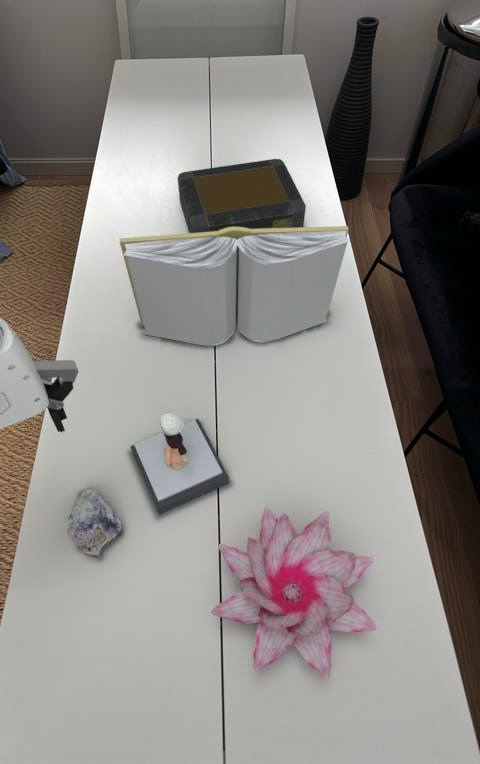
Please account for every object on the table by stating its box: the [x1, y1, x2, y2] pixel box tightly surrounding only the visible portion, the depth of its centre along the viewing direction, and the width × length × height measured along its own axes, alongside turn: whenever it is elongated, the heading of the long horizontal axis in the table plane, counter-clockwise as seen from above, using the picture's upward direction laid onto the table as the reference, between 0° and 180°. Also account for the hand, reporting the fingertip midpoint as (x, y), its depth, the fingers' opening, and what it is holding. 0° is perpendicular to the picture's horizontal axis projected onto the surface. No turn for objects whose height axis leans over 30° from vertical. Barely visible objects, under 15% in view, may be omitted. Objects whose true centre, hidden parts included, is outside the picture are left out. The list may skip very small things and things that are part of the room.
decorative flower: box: [210, 505, 378, 679], centre depth 72 cm, size 21×21×15 cm
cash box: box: [177, 158, 307, 233], centre depth 123 cm, size 25×20×8 cm
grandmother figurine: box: [159, 412, 188, 470], centre depth 82 cm, size 8×4×13 cm, turn 40°
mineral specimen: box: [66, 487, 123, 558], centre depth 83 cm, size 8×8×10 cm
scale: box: [130, 418, 230, 516], centre depth 88 cm, size 12×12×3 cm
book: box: [119, 225, 350, 347], centre depth 96 cm, size 36×8×24 cm, turn 95°
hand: (14, 438), depth 59 cm, fingers open, 9 cm apart
